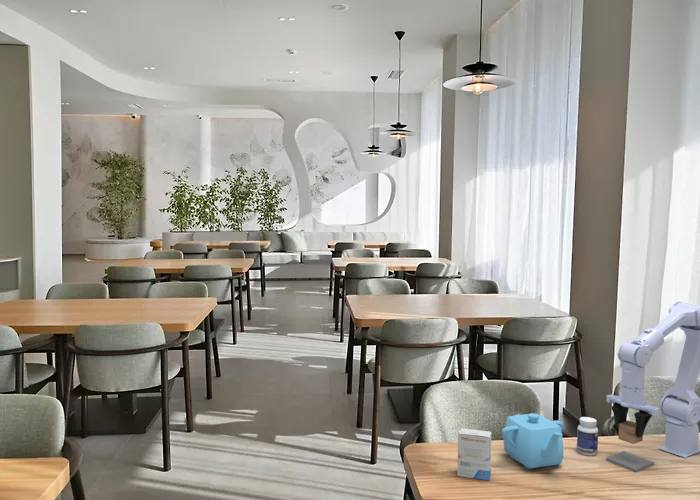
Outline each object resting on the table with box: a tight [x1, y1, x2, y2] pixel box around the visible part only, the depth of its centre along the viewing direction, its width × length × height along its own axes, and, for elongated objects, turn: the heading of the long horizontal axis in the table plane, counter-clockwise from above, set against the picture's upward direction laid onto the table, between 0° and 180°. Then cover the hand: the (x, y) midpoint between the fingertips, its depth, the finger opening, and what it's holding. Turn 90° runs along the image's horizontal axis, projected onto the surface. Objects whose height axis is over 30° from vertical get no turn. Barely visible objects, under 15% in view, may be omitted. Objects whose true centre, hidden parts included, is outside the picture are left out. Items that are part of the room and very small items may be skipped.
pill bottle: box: [576, 416, 599, 457], centre depth 174 cm, size 6×6×10 cm
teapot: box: [501, 412, 565, 470], centre depth 167 cm, size 18×16×14 cm
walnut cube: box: [617, 419, 644, 445], centre depth 167 cm, size 4×4×4 cm
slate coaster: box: [605, 450, 655, 473], centre depth 167 cm, size 9×9×1 cm
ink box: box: [457, 427, 492, 481], centre depth 159 cm, size 9×5×12 cm, turn 71°
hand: (630, 433), depth 167 cm, fingers closed on walnut cube, 4 cm apart
